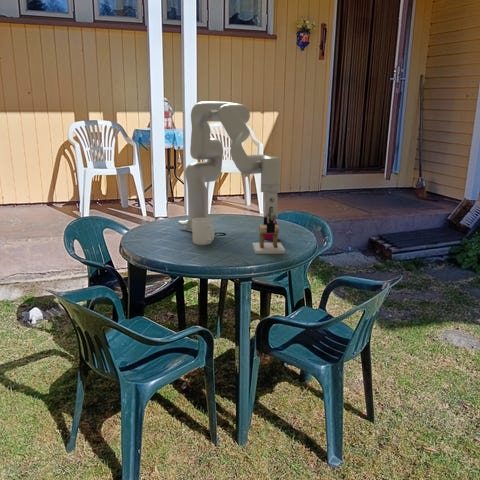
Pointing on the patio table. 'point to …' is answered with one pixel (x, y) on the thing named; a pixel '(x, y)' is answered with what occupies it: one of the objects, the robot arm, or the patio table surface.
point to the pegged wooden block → (264, 231)
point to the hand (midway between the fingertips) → (268, 229)
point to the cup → (202, 231)
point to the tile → (268, 248)
